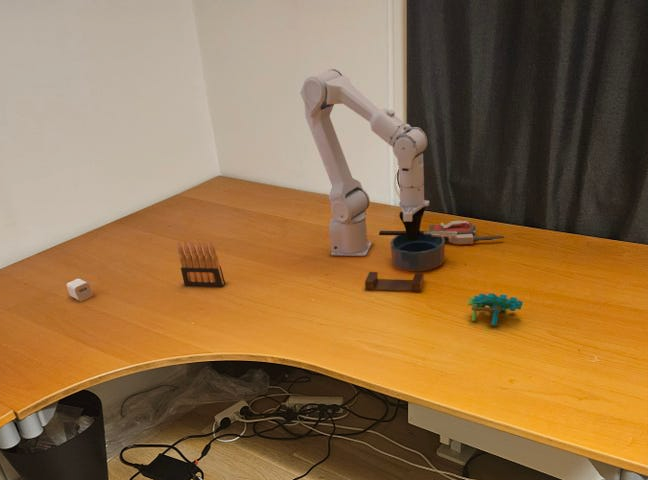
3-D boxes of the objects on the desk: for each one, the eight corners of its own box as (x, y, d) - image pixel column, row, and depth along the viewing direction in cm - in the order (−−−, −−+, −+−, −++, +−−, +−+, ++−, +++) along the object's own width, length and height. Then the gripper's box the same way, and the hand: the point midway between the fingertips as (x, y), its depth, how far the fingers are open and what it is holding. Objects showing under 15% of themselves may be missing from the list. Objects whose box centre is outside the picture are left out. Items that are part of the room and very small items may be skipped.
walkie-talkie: (425, 247, 161) (504, 243, 159) (425, 232, 159) (505, 227, 156) (425, 234, 168) (500, 230, 166) (424, 219, 166) (501, 214, 163)
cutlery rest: (365, 290, 145) (364, 281, 144) (370, 280, 149) (369, 271, 148) (420, 292, 142) (420, 283, 140) (423, 282, 146) (423, 273, 144)
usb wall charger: (79, 302, 156) (73, 288, 153) (66, 295, 160) (60, 281, 157) (93, 295, 158) (88, 281, 156) (80, 288, 162) (75, 275, 160)
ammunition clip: (225, 283, 156) (215, 239, 149) (222, 287, 154) (212, 242, 148) (187, 282, 159) (176, 239, 152) (184, 285, 157) (172, 242, 150)
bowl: (387, 272, 152) (386, 252, 149) (396, 249, 162) (395, 230, 159) (441, 274, 148) (441, 253, 145) (447, 250, 159) (447, 230, 155)
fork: (378, 236, 153) (378, 233, 152) (380, 232, 155) (380, 229, 154) (456, 237, 148) (456, 234, 147) (457, 233, 150) (457, 230, 149)
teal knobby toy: (528, 305, 129) (516, 290, 120) (524, 333, 128) (511, 320, 120) (477, 303, 135) (462, 289, 126) (473, 329, 134) (457, 317, 125)
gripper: (424, 194, 137) (425, 250, 145) (432, 173, 149) (433, 226, 156) (393, 195, 139) (396, 250, 147) (404, 174, 151) (406, 226, 158)
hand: (413, 238), depth 152 cm, fingers closed on fork, 1 cm apart
